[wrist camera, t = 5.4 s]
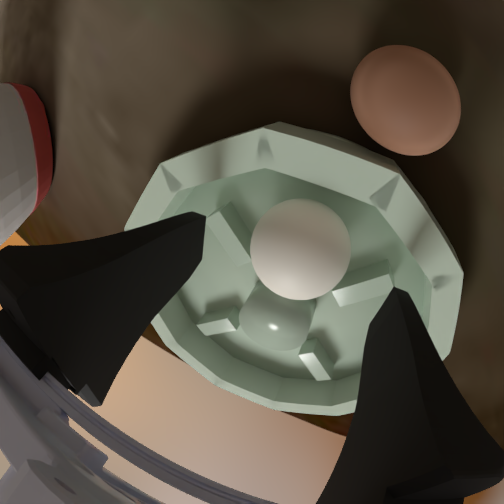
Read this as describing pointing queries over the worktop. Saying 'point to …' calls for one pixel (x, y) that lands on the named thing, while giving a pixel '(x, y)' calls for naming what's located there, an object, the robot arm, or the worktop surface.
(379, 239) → the tray
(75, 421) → the robot arm
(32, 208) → the citrus juicer
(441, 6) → the worktop surface
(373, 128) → the terracotta bead
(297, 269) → the ivory bead
